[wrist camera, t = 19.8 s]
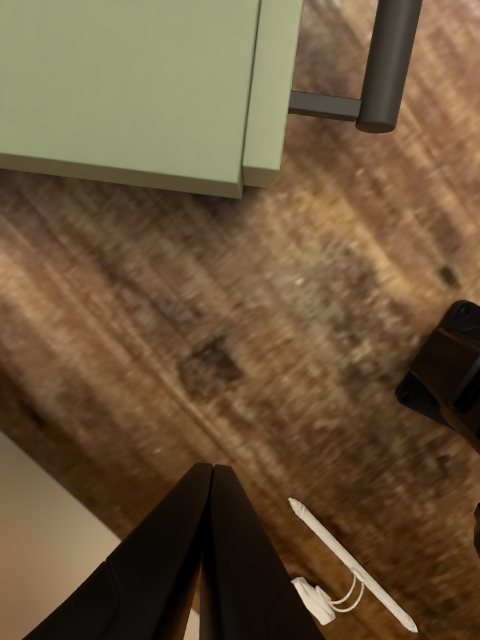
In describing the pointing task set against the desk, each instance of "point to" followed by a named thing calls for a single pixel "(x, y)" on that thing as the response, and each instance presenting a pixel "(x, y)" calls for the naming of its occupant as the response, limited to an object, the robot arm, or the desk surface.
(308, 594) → the picture light
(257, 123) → the cabinet drawer
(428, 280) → the desk surface
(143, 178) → the green drawer cabinet
